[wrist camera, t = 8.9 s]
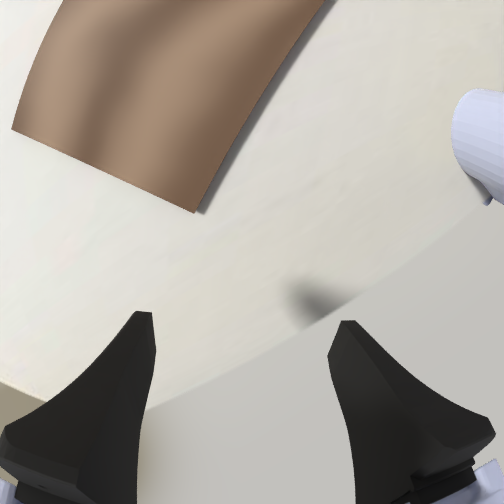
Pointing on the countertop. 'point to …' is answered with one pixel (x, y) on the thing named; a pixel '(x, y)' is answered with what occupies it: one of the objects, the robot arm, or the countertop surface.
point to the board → (156, 84)
